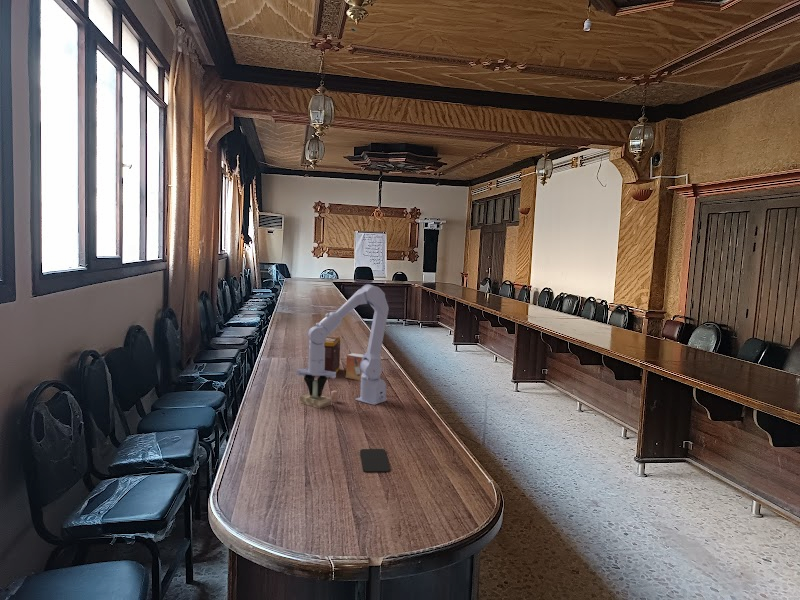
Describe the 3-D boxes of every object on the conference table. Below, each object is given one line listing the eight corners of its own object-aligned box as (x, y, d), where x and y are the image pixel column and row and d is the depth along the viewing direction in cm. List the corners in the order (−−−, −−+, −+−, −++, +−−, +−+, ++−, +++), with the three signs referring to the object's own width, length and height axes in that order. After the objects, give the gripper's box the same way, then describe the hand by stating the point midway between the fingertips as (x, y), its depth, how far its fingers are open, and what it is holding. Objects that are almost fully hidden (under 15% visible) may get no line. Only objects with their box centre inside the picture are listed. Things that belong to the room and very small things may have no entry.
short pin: (339, 401, 204) (339, 391, 204) (334, 403, 202) (334, 392, 202) (334, 400, 206) (334, 390, 205) (329, 401, 203) (329, 391, 203)
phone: (362, 471, 143) (359, 449, 157) (362, 474, 143) (359, 451, 158) (390, 470, 144) (384, 448, 158) (390, 473, 144) (384, 451, 159)
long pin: (320, 400, 201) (320, 380, 201) (317, 402, 199) (318, 382, 198) (313, 399, 202) (314, 379, 201) (310, 401, 199) (311, 381, 199)
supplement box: (339, 369, 255) (340, 336, 253) (332, 377, 240) (333, 342, 238) (318, 367, 256) (319, 335, 254) (309, 375, 241) (310, 341, 239)
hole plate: (331, 404, 200) (331, 398, 200) (319, 408, 195) (319, 401, 195) (311, 399, 206) (311, 392, 206) (300, 402, 201) (300, 396, 201)
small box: (345, 378, 239) (346, 354, 238) (352, 375, 244) (353, 352, 243) (360, 380, 235) (361, 357, 234) (367, 378, 240) (368, 354, 239)
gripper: (338, 358, 201) (337, 394, 203) (301, 355, 204) (301, 390, 205) (333, 362, 194) (332, 399, 196) (294, 359, 197) (294, 395, 198)
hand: (315, 395), depth 200 cm, fingers closed on long pin, 3 cm apart
